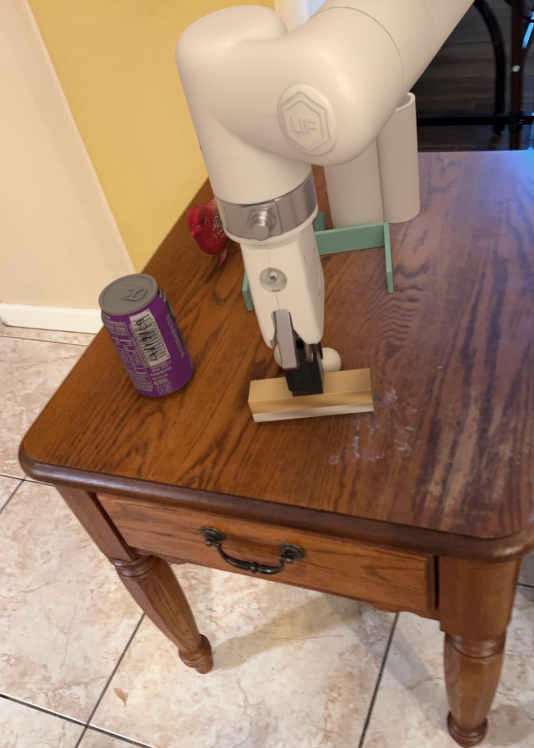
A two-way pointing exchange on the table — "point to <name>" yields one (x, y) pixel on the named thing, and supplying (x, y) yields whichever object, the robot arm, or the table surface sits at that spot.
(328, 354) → the crumb
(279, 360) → the crumb
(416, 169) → the vase
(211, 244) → the decorative bird figurine
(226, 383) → the table surface
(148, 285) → the beverage can
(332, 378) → the brush
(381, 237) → the teal open frame
